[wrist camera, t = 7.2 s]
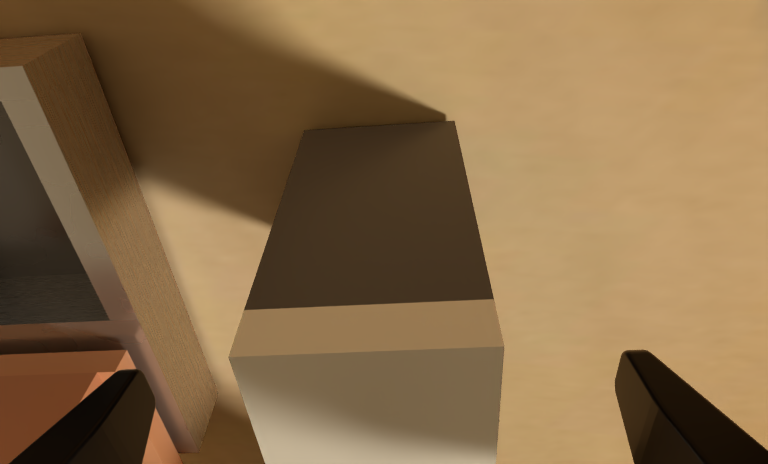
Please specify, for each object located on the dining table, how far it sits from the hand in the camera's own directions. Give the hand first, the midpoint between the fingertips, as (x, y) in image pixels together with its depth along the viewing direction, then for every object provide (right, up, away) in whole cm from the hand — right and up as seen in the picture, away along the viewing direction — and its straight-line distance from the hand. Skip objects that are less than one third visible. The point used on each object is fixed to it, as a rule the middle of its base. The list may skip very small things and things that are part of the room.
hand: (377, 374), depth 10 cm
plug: (0, +4, +5) cm, 7 cm away
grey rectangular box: (-11, +2, +7) cm, 13 cm away
